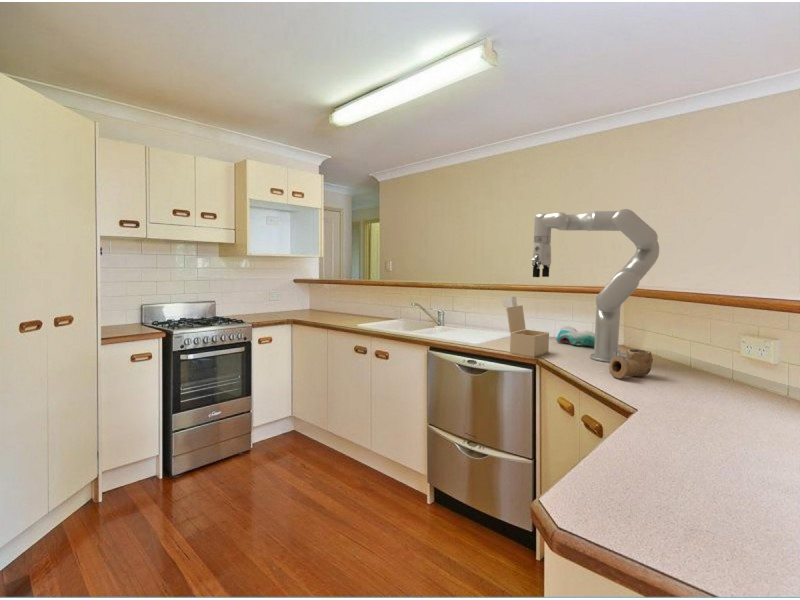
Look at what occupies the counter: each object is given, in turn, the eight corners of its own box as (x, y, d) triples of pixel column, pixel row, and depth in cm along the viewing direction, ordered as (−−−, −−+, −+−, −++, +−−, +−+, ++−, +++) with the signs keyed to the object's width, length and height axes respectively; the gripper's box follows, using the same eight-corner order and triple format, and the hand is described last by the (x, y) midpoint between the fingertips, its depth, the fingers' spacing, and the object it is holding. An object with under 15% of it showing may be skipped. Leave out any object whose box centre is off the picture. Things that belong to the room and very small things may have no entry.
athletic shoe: (553, 343, 225) (550, 328, 218) (563, 332, 228) (560, 318, 221) (598, 363, 205) (596, 347, 198) (609, 351, 208) (607, 335, 201)
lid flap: (521, 296, 204) (510, 297, 208) (506, 297, 194) (495, 299, 198) (525, 329, 204) (514, 330, 208) (510, 332, 193) (499, 333, 197)
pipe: (604, 375, 156) (606, 350, 155) (635, 372, 162) (636, 347, 161) (625, 382, 148) (627, 355, 147) (657, 378, 154) (658, 351, 153)
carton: (548, 352, 196) (549, 332, 195) (533, 357, 185) (534, 336, 185) (525, 348, 205) (525, 329, 204) (510, 353, 194) (510, 333, 193)
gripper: (541, 239, 184) (540, 277, 185) (557, 241, 196) (556, 276, 198) (526, 240, 189) (524, 277, 190) (542, 241, 201) (541, 276, 203)
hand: (540, 276), depth 194 cm, fingers open, 9 cm apart
